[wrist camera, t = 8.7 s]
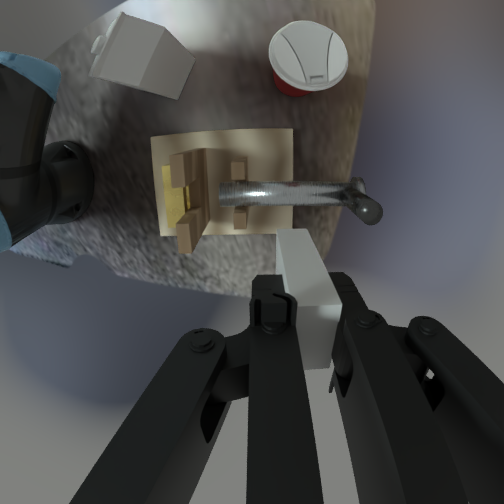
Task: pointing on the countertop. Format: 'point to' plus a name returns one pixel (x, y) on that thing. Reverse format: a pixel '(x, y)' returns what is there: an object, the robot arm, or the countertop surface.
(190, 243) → the wooden stand with blocks
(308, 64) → the coffee cup
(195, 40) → the countertop surface
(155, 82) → the milk carton
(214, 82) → the countertop surface
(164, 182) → the spacer
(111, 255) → the countertop surface
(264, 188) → the silver bent bar
